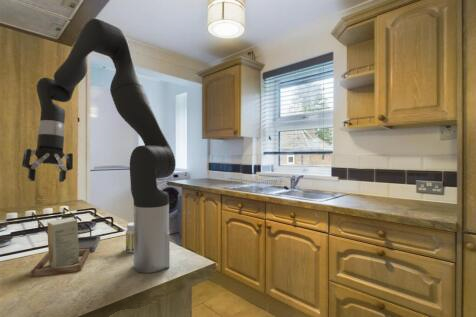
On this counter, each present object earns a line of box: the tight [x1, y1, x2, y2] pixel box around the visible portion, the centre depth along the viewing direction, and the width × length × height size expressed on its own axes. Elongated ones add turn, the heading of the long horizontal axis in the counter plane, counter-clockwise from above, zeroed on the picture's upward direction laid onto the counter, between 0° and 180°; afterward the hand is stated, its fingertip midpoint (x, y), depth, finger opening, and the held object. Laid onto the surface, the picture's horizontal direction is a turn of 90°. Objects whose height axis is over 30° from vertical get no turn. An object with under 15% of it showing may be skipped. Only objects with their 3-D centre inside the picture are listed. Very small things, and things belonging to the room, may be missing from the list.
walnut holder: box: [30, 248, 91, 278], centre depth 73 cm, size 11×12×2 cm
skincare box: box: [47, 217, 80, 268], centre depth 72 cm, size 6×4×12 cm
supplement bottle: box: [125, 221, 134, 253], centre depth 83 cm, size 5×5×8 cm
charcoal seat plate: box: [78, 235, 101, 253], centre depth 85 cm, size 11×11×1 cm
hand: (47, 181), depth 90 cm, fingers open, 8 cm apart
